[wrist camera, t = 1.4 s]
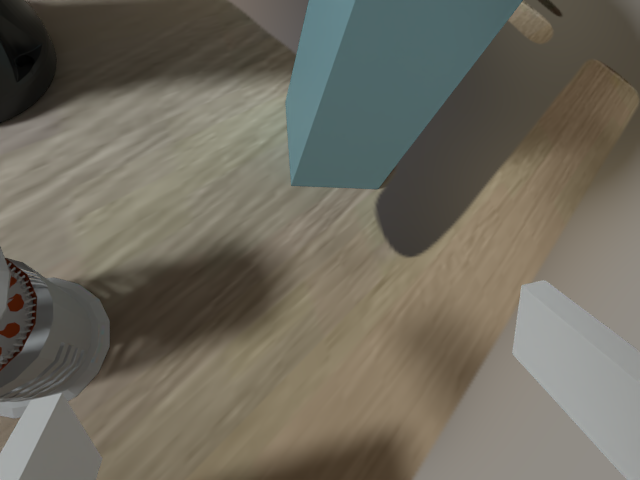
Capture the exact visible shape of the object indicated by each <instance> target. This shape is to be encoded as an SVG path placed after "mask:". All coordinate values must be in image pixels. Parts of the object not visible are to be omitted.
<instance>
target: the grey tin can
mask: <svg viewBox="0 0 640 480" xmlns="http://www.w3.org/2000/svg"><path fill="white" fill-rule="evenodd" d="M19 268H20V269H19ZM21 269H23V270H27V271H30V272H34V273H36V274H37V275H36V274H33V273H30V272H27V271H23V270H21ZM26 273H28V274H31V275H34V276H37V277H40V278H41V279H40V278H37V277H33V276H30V275H27V274H26ZM29 278H34V279H33V280H31V279H29ZM109 347H110V320H109V318H108V316H107V314H106V312H105V310H104V308H103V306H102V304H101V302H100V300H99V299H98V298H97V297H96V296H94V295H93V294H92V293H91V292H89V291H88V290H87V289H85V288H84V287H83V286H82V285H80V284H77V283H73V282H69V281H65V280H61V279H58V278H45V277H43V276H42V275H40V274H39V273H38V272H36V271H35V270H33V269H32V268H30V267H29V266H27V265H26V264H24V263H23V262H19V261H15V260H11V259H8V258H4V255H3V252H2V250H1V247H0V416H5V417H10V418H19V417H21V416H22V415H23V413H24V411H25V409H26V408H27V406H28V404H29V403H30V401H31V400H34V399H38V398H42V397H47V396H51V395H55V394H59V393H62V394H63V395H64V397H65V399H66V400H67V401H69V400H71V399H73V398H74V397H76V396H77V395H78V394H79V393H80V392H81V391H82V390H83V389H84V388H85V387H86V386H87V385H88V383H89V382H90V381H91V380H92V379H93V378H94V377H95V376H96V375H97V374H98V372H99V370H100V368H101V365H102V363H103V361H104V358H105V356H106V354H107V351H108V349H109Z"/></svg>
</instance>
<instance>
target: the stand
mask: <svg viewBox="0 0 640 480" xmlns="http://www.w3.org/2000/svg"><path fill="white" fill-rule="evenodd" d="M522 1H523V0H309V2H308V6H307V11H306V15H305V19H304V24H303V28H302V32H301V37H300V41H299V45H298V50H297V54H296V59H295V63H294V67H293V72H292V76H291V80H290V85H289V89H288V94H287V98H286V116H287V131H288V146H289V160H290V175H291V186H313V187H337V188H362V189H378V188H379V187H380V186H381V184H382V183H383V182H384V180H385V179H386V178H387V177H388V175H389V174H390V173H391V171H392V170H393V169H394V167H395V166H396V165H397V164H398V162H399V161H400V160H401V158H402V157H403V155H404V154H405V153H406V152H407V150H408V149H409V148H410V146H411V145H412V144H413V143H414V141H415V140H416V139H417V138H418V136H419V135H420V134H421V132H422V131H423V130H424V128H425V127H426V126H427V124H428V123H429V122H430V120H431V119H432V118H433V116H434V115H435V114H436V113H437V111H438V110H439V109H440V108H441V106H442V105H443V104H444V102H445V101H446V100H447V98H448V97H449V96H450V95H451V93H452V92H453V91H454V89H455V88H456V87H457V85H458V84H459V83H460V82H461V80H462V79H463V78H464V76H465V75H466V73H467V72H468V71H469V70H470V69H471V67H472V66H473V65H474V63H475V62H476V61H477V59H478V58H479V57H480V56H481V54H482V53H483V52H484V50H485V49H486V48H487V46H488V45H489V44H490V43H491V41H492V39H494V37H495V36H496V35H497V33H498V32H499V31H500V30H501V28H502V27H503V26H504V24H505V23H506V22H507V20H508V19H509V18H510V17H511V15H512V14H513V13H514V11H515V10H516V9H517V7H518V6H519V5H520V4H521V2H522Z"/></svg>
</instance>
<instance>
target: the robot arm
mask: <svg viewBox="0 0 640 480" xmlns="http://www.w3.org/2000/svg"><path fill="white" fill-rule="evenodd" d="M55 69H56V54H55V50H54V46H53V44H52V42H51V40H50V37H49V35H48V33H47V31H46V29H45V27H44V25H43V23H42V21H41V20H40V18H39V17H38V15H37V14H36V13H35V11H34V10H33V9H32V8H31V7H30V6H29V5H28V4H27V3H26V1H25V0H0V122H3V121H5V120H8V119H10V118H12V117H14V116H16V115H18V114H20V113H21V112H23V111H24V110H26V109H27V108H29V107H30V106H31V105H33V104H34V103H35V102H36V101H37V100H38V99H39V98H40V97H41V96H42V95H43V94H44V92H45V91H46V90H47V88H48V87H49V85H50V83H51V81H52V79H53V76H54V73H55ZM512 354H513V355H514V356H515V357H516V358H517V359H518V361H519V362H520V363H521V364H522V365H523V366H524V367H525V368H526V369H527V371H528V372H529V373H530V374H531V375H532V376H533V377H534V378H535V379H536V380H537V382H538V383H539V384H540V385H541V386H542V387H543V388H544V389H545V390H546V391H547V393H548V394H549V395H550V396H551V397H552V398H553V399H554V400H555V401H556V402H557V404H558V405H559V406H560V407H561V408H562V409H563V410H564V411H565V412H566V413H567V415H568V416H569V417H570V418H571V419H572V420H573V421H574V422H575V423H576V424H577V426H578V427H579V428H580V429H581V430H582V431H583V432H584V433H585V434H586V435H587V437H588V438H589V439H590V440H591V441H592V442H593V443H594V444H595V445H596V446H597V447H598V449H599V450H600V451H601V452H602V453H603V454H604V455H605V456H606V457H607V458H608V460H609V461H610V462H611V463H612V464H613V465H614V466H615V467H616V468H617V469H618V471H619V472H620V473H621V474H622V475H623V476H624V477H625V478H626V479H627V480H640V351H639V350H638V349H636V348H635V347H634V346H632V345H631V344H630V343H628V342H627V341H626V340H624V339H623V338H622V337H620V336H619V335H618V334H616V333H615V332H614V331H612V330H611V329H610V328H608V327H607V326H606V325H604V324H603V323H602V322H600V321H599V320H598V319H596V318H595V317H593V316H592V315H590V313H588V312H587V311H586V310H584V309H583V308H582V307H580V306H579V305H577V304H576V303H575V302H574V301H572V300H571V299H570V298H568V297H567V296H566V295H564V294H563V293H561V292H560V291H559V290H557V289H556V288H555V287H553V286H552V285H551V284H549V283H548V282H547V281H545V280H542V281H539V282H534V283H530V284H525V285H522V286H521V293H520V301H519V308H518V315H517V322H516V330H515V337H514V345H513V351H512ZM101 461H102V457H101V455H100V454H99V452H98V451H97V449H96V447H95V446H94V444H93V442H92V441H91V439H90V438H89V436H88V434H87V433H86V431H85V429H84V428H83V426H82V425H81V423H80V421H79V420H78V418H77V416H76V415H75V413H74V412H73V410H72V408H71V407H70V405H69V403H68V402H67V400H66V399H65V397H64V395H63V394H62V393H59V394H55V395H51V396H47V397H42V398H38V399H34V400H31V401H30V403H29V404H28V406H27V408H26V409H25V411H24V413H23V415H22V416H21V418H20V420H19V422H18V423H17V425H16V427H15V429H14V430H13V432H12V434H11V436H10V437H9V439H8V441H7V443H6V444H5V446H4V448H3V450H2V451H1V453H0V480H96V477H97V474H98V471H99V468H100V465H101Z"/></svg>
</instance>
